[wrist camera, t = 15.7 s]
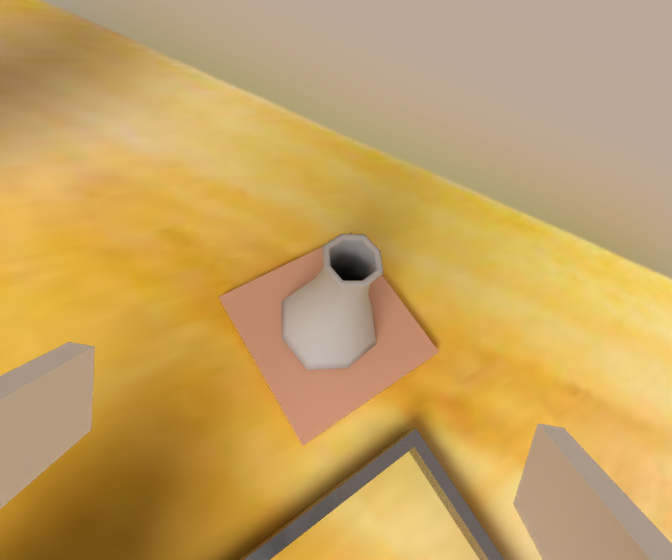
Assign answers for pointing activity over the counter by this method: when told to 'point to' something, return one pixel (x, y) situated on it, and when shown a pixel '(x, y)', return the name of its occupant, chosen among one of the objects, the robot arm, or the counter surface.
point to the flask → (334, 306)
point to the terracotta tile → (324, 384)
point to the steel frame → (408, 442)
